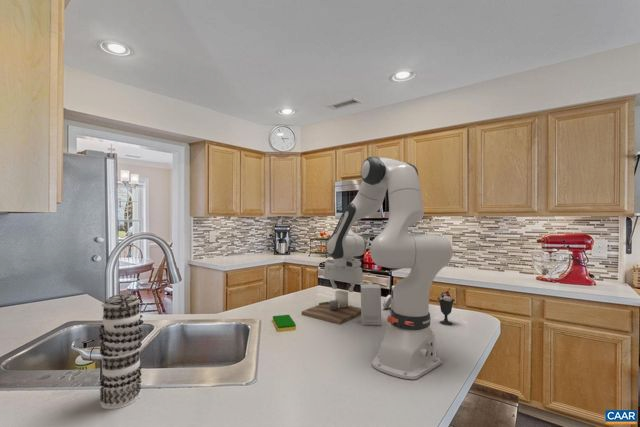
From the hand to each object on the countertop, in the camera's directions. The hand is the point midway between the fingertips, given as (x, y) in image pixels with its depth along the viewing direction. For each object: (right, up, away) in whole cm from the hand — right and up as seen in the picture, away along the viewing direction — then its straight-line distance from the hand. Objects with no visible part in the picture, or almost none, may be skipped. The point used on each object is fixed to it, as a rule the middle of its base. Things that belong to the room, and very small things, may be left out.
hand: (342, 290), depth 151 cm
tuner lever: (-2, -7, -3) cm, 8 cm away
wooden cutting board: (-4, -9, -6) cm, 12 cm away
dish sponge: (-25, -10, -21) cm, 34 cm away
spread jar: (+25, -10, -2) cm, 27 cm away
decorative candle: (-59, -9, -73) cm, 95 cm away
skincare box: (+11, -10, -18) cm, 23 cm away
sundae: (+42, -10, -19) cm, 47 cm away
